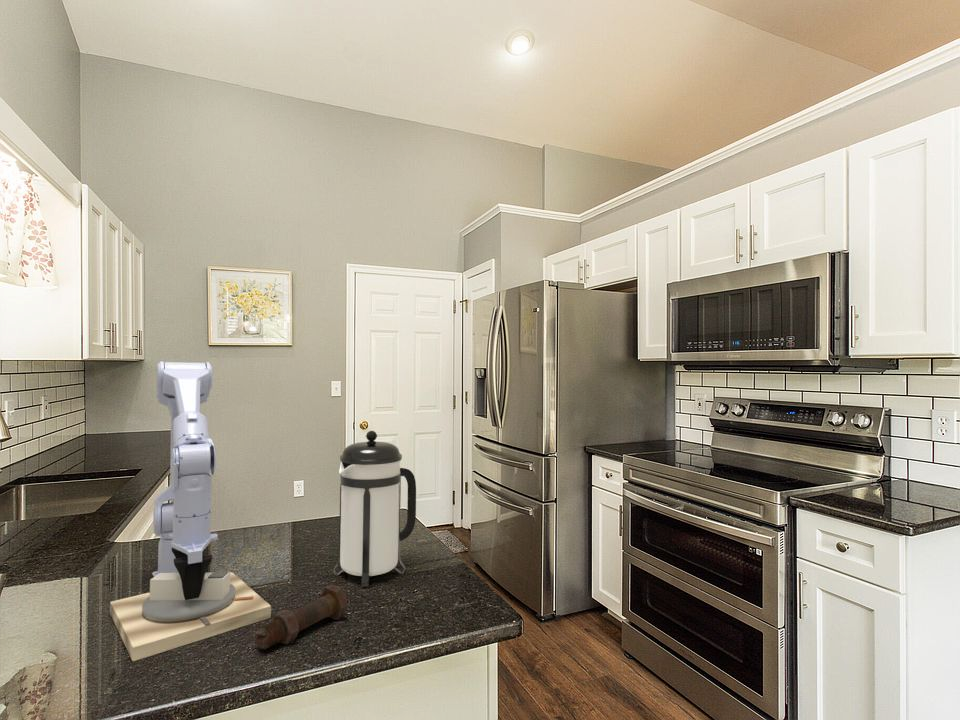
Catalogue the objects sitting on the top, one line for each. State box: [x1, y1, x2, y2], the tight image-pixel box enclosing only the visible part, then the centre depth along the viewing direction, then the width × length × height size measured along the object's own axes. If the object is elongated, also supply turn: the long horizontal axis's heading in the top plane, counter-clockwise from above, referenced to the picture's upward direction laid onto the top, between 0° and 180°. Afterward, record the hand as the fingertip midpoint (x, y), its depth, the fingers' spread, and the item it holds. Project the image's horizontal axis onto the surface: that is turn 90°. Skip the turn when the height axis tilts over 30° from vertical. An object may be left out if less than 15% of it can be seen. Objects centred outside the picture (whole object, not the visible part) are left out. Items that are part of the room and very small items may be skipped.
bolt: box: [254, 584, 348, 650], centre depth 84 cm, size 6×5×15 cm
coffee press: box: [332, 430, 417, 588], centre depth 110 cm, size 17×16×30 cm
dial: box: [142, 570, 235, 622], centre depth 89 cm, size 14×14×5 cm
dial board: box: [109, 571, 272, 662], centre depth 89 cm, size 20×20×2 cm
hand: (190, 592), depth 89 cm, fingers closed on dial, 5 cm apart
